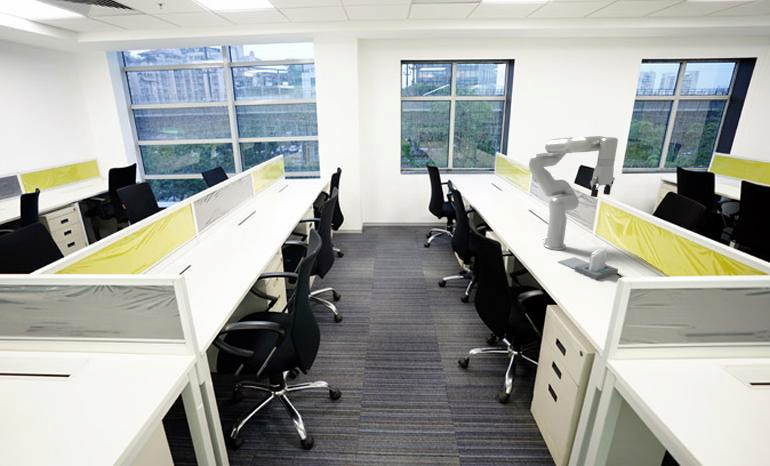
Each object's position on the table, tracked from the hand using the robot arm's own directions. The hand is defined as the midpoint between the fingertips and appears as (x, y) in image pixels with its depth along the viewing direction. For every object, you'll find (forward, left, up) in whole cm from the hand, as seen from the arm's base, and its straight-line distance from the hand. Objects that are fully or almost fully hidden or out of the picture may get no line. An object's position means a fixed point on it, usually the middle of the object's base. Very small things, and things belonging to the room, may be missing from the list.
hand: (600, 195), depth 189 cm
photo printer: (+12, -11, -37) cm, 40 cm away
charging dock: (+12, -11, -37) cm, 40 cm away
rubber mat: (-1, -11, -37) cm, 38 cm away
